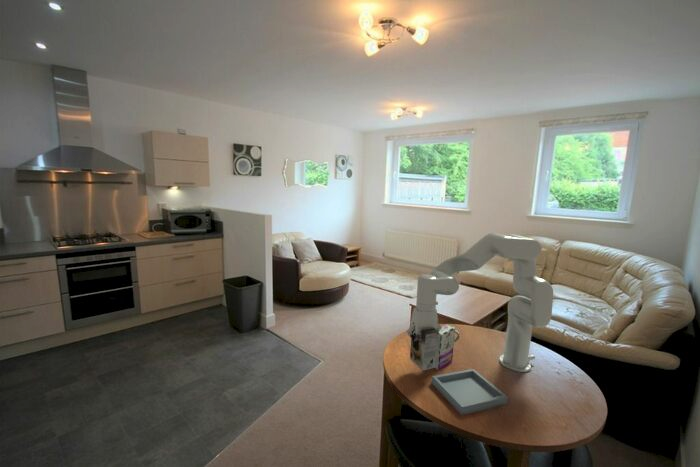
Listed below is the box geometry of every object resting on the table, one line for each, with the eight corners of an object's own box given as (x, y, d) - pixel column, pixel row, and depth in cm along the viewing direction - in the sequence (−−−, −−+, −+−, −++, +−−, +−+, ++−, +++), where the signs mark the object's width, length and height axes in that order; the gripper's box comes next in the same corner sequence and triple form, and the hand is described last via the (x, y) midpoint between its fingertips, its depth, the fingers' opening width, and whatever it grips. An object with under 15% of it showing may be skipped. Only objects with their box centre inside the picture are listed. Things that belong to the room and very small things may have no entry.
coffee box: (409, 359, 131) (411, 323, 128) (421, 356, 133) (424, 320, 131) (422, 371, 122) (424, 332, 120) (435, 367, 125) (438, 330, 122)
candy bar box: (442, 357, 143) (446, 323, 141) (452, 362, 140) (456, 327, 137) (428, 365, 136) (431, 330, 133) (438, 370, 132) (442, 334, 130)
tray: (472, 375, 130) (473, 368, 130) (506, 404, 113) (507, 396, 113) (431, 383, 124) (432, 376, 123) (461, 415, 107) (462, 407, 106)
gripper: (438, 300, 130) (435, 339, 133) (401, 304, 125) (399, 345, 127) (450, 306, 123) (446, 348, 126) (411, 311, 118) (408, 355, 120)
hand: (423, 346), depth 127 cm, fingers closed on coffee box, 6 cm apart
